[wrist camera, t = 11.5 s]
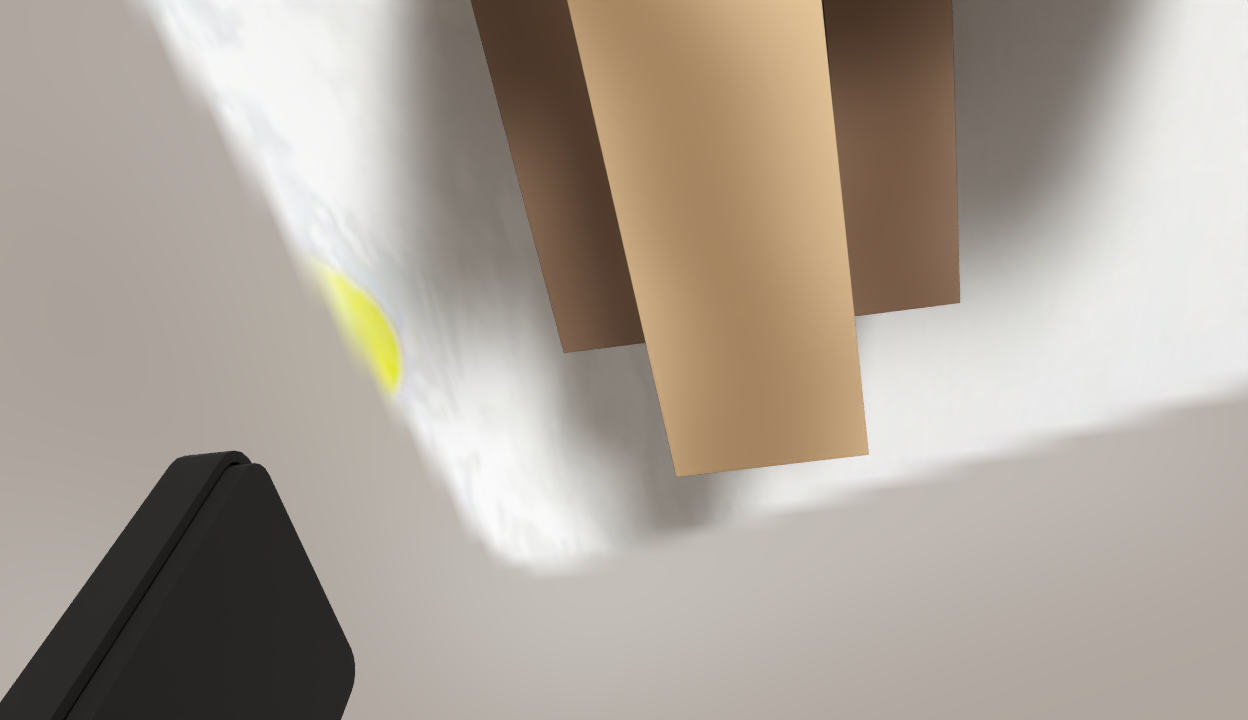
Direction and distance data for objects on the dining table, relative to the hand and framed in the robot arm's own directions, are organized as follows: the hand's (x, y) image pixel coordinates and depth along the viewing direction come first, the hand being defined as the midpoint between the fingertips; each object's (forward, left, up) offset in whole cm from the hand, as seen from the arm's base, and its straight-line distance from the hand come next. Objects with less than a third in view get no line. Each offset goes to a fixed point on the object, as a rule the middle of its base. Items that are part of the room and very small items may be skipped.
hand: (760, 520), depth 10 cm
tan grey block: (0, 0, -18) cm, 18 cm away
